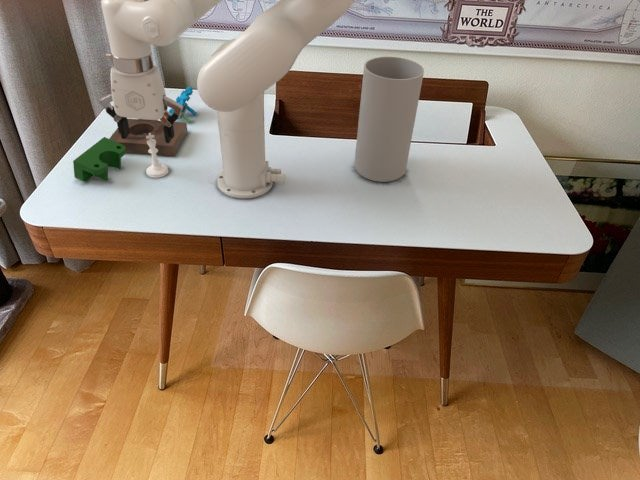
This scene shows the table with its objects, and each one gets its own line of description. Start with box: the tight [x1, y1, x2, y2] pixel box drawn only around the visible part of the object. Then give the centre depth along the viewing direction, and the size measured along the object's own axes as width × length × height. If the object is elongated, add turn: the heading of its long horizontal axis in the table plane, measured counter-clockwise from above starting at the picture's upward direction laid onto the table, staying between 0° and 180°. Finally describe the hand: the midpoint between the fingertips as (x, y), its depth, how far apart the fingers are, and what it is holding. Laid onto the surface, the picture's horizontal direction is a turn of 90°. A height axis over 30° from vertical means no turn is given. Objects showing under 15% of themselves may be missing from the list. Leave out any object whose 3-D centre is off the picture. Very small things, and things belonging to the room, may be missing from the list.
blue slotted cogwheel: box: [168, 86, 197, 123], centre depth 133 cm, size 11×6×10 cm
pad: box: [108, 118, 189, 158], centre depth 123 cm, size 16×13×3 cm
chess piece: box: [145, 133, 169, 179], centre depth 110 cm, size 5×5×10 cm
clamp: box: [72, 136, 126, 183], centre depth 111 cm, size 12×6×9 cm
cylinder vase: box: [353, 56, 425, 183], centre depth 110 cm, size 12×12×25 cm
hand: (147, 138), depth 108 cm, fingers open, 9 cm apart
